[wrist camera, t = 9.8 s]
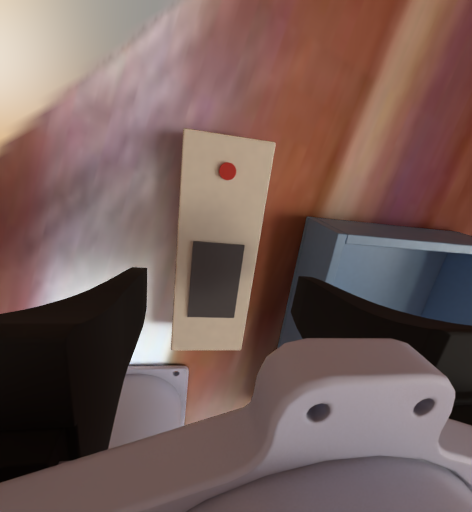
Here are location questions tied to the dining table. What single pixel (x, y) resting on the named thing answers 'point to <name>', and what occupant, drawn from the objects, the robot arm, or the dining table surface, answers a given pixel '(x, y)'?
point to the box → (388, 268)
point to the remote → (217, 237)
